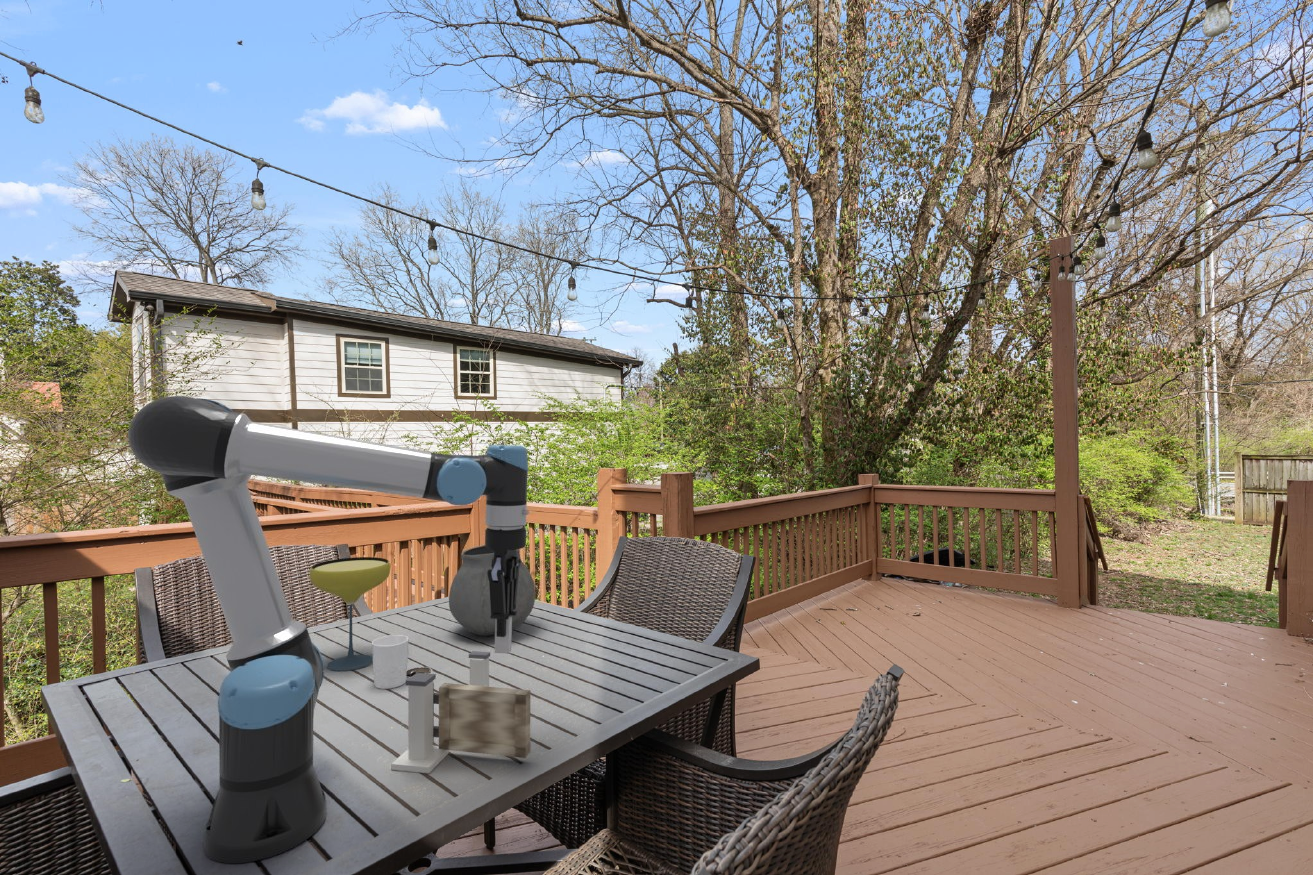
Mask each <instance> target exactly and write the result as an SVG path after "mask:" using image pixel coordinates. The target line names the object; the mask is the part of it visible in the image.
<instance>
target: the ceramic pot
mask: <svg viewBox="0 0 1313 875" xmlns="http://www.w3.org/2000/svg"><path fill="white" fill-rule="evenodd" d="M516 551H517V556H516V557H518V558H521V554H520V552H521V550H520V549H517V550H516ZM460 555H461V560H462V562H461V566H460V567H459V569H458V571H457V572H456V573H455V575H454V577H453V580H452V581H451V585H450V589H449V595H448V607H449V611H450V613H451V615H452V617H453V618H454V619H455V620H456V621H457V623H458V624H460V625H461V627H463V628H464V629H466V630H467V631H469V632H470V633H472V634H474V635H477V636H480V637H482V636H483V637H484V636H485V637H486V636H487V637H488V636H495V619H491V618H490V616H491V604H490V587H489V579H488V574H487V572H488V570H489V569H492V570H493V568H492V559H493V558H494V550H492V549H488V548H486V546H485V544H483V545H479V546H475V547H471V548H468V549H465V550H463V551H462V552H461V554H460ZM535 600H536V588H535V583H534V579H533V576H532V573H531V572H530V570H529V569H528V568H527V566H526V564H525V563H524V562H523V561H522V560H521V563H520V568H519V577H518V588H517V599H516V609H515V610H513V611H515V612H517V614H516V616H511V615H510V617H512V632H513V631H515V630H516V629H517V628H519V627H520V626H521V625H522V624H523V623H524V622H525V621H526V619H527V618H528V617H529V616H530V614H531V613H532V611H533V608H534V606H535V602H536V601H535Z"/></svg>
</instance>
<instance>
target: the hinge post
mask: <svg viewBox="0 0 1313 875" xmlns="http://www.w3.org/2000/svg"><path fill="white" fill-rule="evenodd" d="M434 680H436V673H424V672H416V673H415V674H413V675H412V676H410V677H409V678H408V679H407V678H406V682H405V686H408V690H407V692H408V694H407V695H408V696H407V697H408V707H407V708H408V710H407V712H408V715H407V716H408V717H407V718H408V725H407V726H408V727H407V729H408V730H407V731H408V732H407V735H408V737H407V739H408V745H407V746H408V748H407V749H406V750H405V751H404V752H402V754H401V755H399V756H398V757H397V758H396V759H395V760H394V761H393V762H392V763H391V765H390V767H391V768H390V770H392V771H401V772H409V773H410V772H411V773H422V774H430V773H431V772H432V771H433V770H434V769H435V768H436V767H437V765H439V764H440V763H441V762H442V761H443V759H445V758H446V757H447V755H449V753H450V750H445V749H439V745H433V683H434Z"/></svg>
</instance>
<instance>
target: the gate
mask: <svg viewBox="0 0 1313 875" xmlns="http://www.w3.org/2000/svg"><path fill="white" fill-rule="evenodd" d="M434 691H435V683H434V682H433V746H435V745H434V744H435V743H434V742H435V741H434V740H435V738H438V746H439V749H445V750H449V751H454V752H456V751H457V752H465V753H472V754H473V753H474V754H475V753H476V754H482V755H484V754H485V755H490V756H493V755H494V756H501V757H511V758H520V759H521V758H522V759H527V757H528V756H529V755H530V754H531V690H530V689H519V688H508V687H506V688H505V687H496V686H495V687H494V686H489V687H486V686H474V685H470V684H462V683H461V684H459V683H452V682H451V683H450V682H449V683H448V682H444V683H443V684H442V685H441V684H440V686H439V687H438V692H434ZM434 705H438V725H435V722H434V721H435V719H434V718H435V713H434V710H435V709H434V707H435V706H434Z"/></svg>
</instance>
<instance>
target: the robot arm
mask: <svg viewBox="0 0 1313 875" xmlns="http://www.w3.org/2000/svg"><path fill="white" fill-rule="evenodd" d="M127 433H128V436H127V437H128V444H129V447H130V449H131V452H132V453H133V455H134V457H135V458H136V459H137V460H138V461H139V462H140V463H141V464H142V465H144V466H145V467H147V468H148V469H149V470H152V471H154V472H156V473H160V475H161V477H162V480H163V483H164V486H165V489H166V492H167V494H168V495H170V496H173V497H175V498H177V499H179V500H181V501H183V504H184V505H185V509H186V511H187V514H188V517H189V520H190V523H191V525H192V528H193V531H194V533H195V537H196V541H197V543H198V545H199V548H200V552H201V554H202V557H203V560H204V563H205V565H206V568H207V571H208V574H209V577H210V579H211V582H212V585H213V588H214V591H215V594H216V596H217V600H218V602H219V605H220V607H221V611H222V613H223V616H224V619H225V621H226V625H227V628H228V631H229V633H230V637H231V640H232V645H231V647H230V648H229V650H228V652H227V653H226V655H225V658H226V660H227V663H228V665H229V668H230V672H229V673H228V674H227V675H226V676H225V677H224V678H223V680H222V682H221V685H220V690H219V696H218V699H217V707H218V709H217V710H218V714H219V716H218V718H219V719H218V720H219V722H218V723H219V724H218V725H219V726H218V728H219V729H218V733H219V738H218V739H219V741H218V742H219V743H218V744H219V746H218V747H219V753H218V755H219V756H218V757H219V759H218V760H219V761H218V762H219V763H218V764H219V769H218V770H219V771H218V772H219V787H218V791H217V794H216V797H215V799H214V802H213V804H212V808H211V810H210V813H209V818H208V820H207V822H206V825H205V827H204V833H203V850H204V853H205V854H206V856H207V857H208V858H209V859H211V860H213V861H215V862H219V863H224V864H243V863H244V864H245V863H249V862H256V861H260V860H265V859H267V858H271V857H274V856H277V855H279V854H281V853H284V852H286V851H289V850H290V849H293V848H295V847H297V846H298V845H300V844H302V843H303V842H305V841H306V840H308V839H309V838H310V837H312V836H313V835H314V834H315V833H317V832H318V831H319V829H321V827H322V826H323V824H324V823H325V820H326V818H327V796H326V794H325V792H324V790H323V789H322V786H321V784H320V781H319V777H318V774H317V772H316V769H315V766H314V715H315V707H316V703H317V700H318V697H319V692H320V689H321V687H322V684H323V681H324V677H325V664H324V663H325V662H324V659H323V656H322V653H321V651H320V650H319V648H318V646H316V644H314V643H313V641H312V639H311V636H310V633H309V631H308V630H309V629H308V628H307V625H306V624H305V623H304V622H301V621H298V620H296V619H294V618H293V616H292V614H291V611H290V607H289V604H288V602H287V599H286V596H285V592H284V590H283V589H284V588H283V586H282V583H281V581H280V577H279V575H278V571H277V569H276V566H275V564H274V560H273V557H272V554H271V551H270V549H269V546H268V543H267V539H266V536H265V534H264V530H263V528H262V525H261V522H260V519H259V517H258V513H257V510H256V507H255V504H254V502H253V498H252V495H251V492H250V490H249V487H248V483H249V480H250V478H251V476H258V477H264V478H271V479H272V478H274V479H279V480H288V481H295V482H296V481H297V482H301V483H302V482H303V483H309V484H317V485H325V486H332V487H338V488H339V487H340V488H346V489H353V490H354V489H355V490H359V491H361V490H362V491H368V492H369V491H370V492H376V493H383V494H391V495H397V496H405V497H412V498H418V499H419V498H420V499H426V500H431V501H437V502H438V501H439V502H446V503H447V504H448V503H449V505H452V506H453V505H454V506H467V505H471V504H473V503H475V502H477V501H478V500H479V499H480V498H481V497H482V496H485V517H484V518H485V521H484V523H485V525H486V526H487V527H486V529H485V531H484V545H485V546H486V548H488V549H492V550H494V558H493V559H492V568H493V570H492V569H489V570H488V572H487V574H488V579H489V587H490V604H491V616H490V618H491V619H495V635H494V653H495V654H510V653H511V652H512V632H513V631H512V617H510V615H511V616H516V614H517V612H515V611H513V610H515V609H516V599H517V588H518V577H519V568H520V563H521V561H522V558H521V557H520V558H518V557H516V556H517V551H516V550H517V549H519V550H522V549H524V548H525V547H526V545H527V529H526V527H524V526H525V525H526V524H527V515H530V510H529V509H527V505H528V503H527V502H528V501H527V500H528V497H527V496H528V475H529V474H528V472H529V464H528V463H529V462H528V461H529V460H528V458H529V457H528V450H527V448H526V447H525V446H523V445H514V444H513V445H512V444H509V445H508V444H490V445H489V446H488V447H487V451H486V453H485V454H482V455H480V454H479V455H470V454H469V455H468V454H465V455H464V454H444V453H439V452H431V451H427V450H420V449H414V448H409V447H403V446H396V445H392V444H386V443H379V442H373V441H368V440H363V439H362V440H360V439H355V438H350V437H342V436H339V435H338V436H337V435H333V434H327V433H320V432H314V431H308V430H303V429H302V430H301V429H296V428H290V427H284V426H278V425H274V424H273V425H272V424H266V423H261V422H254V421H252V420H251V419H250V418H249V417H248V415H247V414H246V413H243V412H237V411H236V412H235V411H233V410H232V408H230V407H227V406H226V405H225V404H222V403H220V402H218V401H215V400H212V399H207V398H200V397H199V398H198V397H190V396H185V395H174V396H173V395H172V396H165V397H162V398H158V399H156V400H153V401H151V402H149V403H147V404H146V405H144V406H143V407H142V408H140V409H139V411H138V412H137V413H136V414H135V415H134V416H133V418H132V420H131V422H130V425H129V428H128V432H127Z"/></svg>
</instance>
